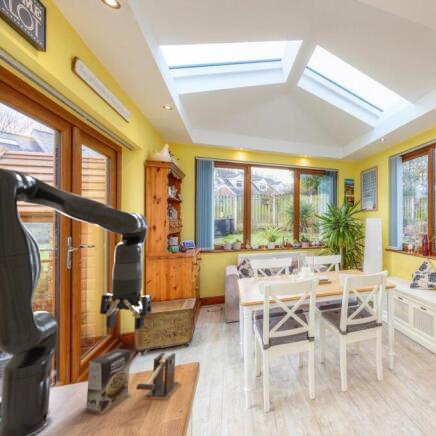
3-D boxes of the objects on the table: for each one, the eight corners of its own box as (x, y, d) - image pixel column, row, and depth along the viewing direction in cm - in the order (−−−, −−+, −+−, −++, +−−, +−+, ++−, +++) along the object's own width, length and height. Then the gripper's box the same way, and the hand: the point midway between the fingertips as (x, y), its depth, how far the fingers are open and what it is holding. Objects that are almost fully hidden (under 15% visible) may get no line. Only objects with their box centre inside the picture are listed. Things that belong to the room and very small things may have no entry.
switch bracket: (165, 399, 90) (167, 362, 90) (145, 398, 90) (147, 361, 90) (179, 385, 98) (180, 351, 98) (160, 384, 98) (162, 350, 98)
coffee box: (101, 415, 82) (104, 363, 82) (85, 411, 83) (87, 360, 83) (129, 396, 90) (131, 350, 91) (114, 393, 92) (116, 347, 92)
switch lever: (152, 392, 84) (151, 386, 83) (137, 391, 84) (135, 385, 83) (174, 360, 95) (173, 355, 95) (160, 360, 95) (159, 355, 95)
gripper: (94, 277, 77) (91, 332, 77) (141, 280, 77) (139, 334, 77) (115, 272, 85) (112, 322, 85) (158, 274, 85) (155, 324, 85)
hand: (125, 328), depth 81 cm, fingers open, 8 cm apart
